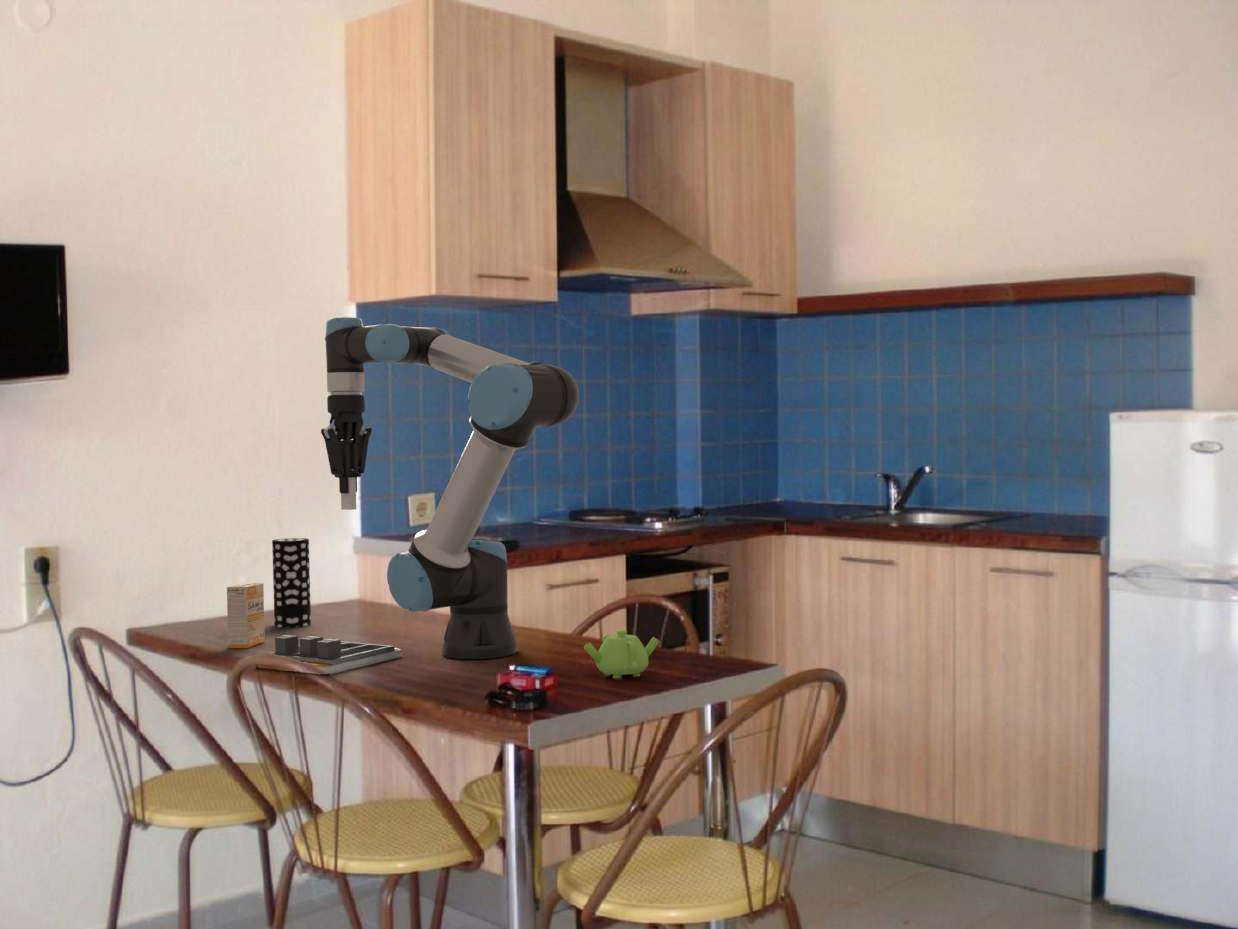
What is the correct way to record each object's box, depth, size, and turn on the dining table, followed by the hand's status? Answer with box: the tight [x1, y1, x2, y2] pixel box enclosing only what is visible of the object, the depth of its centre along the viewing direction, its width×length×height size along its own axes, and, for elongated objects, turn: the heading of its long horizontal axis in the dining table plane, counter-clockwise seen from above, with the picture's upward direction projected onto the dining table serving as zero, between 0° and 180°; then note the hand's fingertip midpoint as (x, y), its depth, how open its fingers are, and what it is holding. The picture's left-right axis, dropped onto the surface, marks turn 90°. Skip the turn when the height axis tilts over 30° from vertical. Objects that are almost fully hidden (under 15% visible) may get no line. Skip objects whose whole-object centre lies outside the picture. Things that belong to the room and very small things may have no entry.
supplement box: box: [226, 582, 265, 649], centre depth 294 cm, size 8×5×13 cm, turn 168°
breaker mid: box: [299, 635, 324, 657], centre depth 267 cm, size 3×4×4 cm
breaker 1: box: [274, 634, 300, 655], centre depth 269 cm, size 3×4×4 cm
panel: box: [270, 641, 403, 675], centre depth 272 cm, size 18×22×2 cm
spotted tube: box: [271, 537, 312, 629], centre depth 323 cm, size 8×8×20 cm
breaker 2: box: [317, 638, 341, 660], centre depth 264 cm, size 3×4×4 cm
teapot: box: [583, 629, 661, 678], centre depth 252 cm, size 11×12×8 cm
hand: (348, 509), depth 282 cm, fingers closed
